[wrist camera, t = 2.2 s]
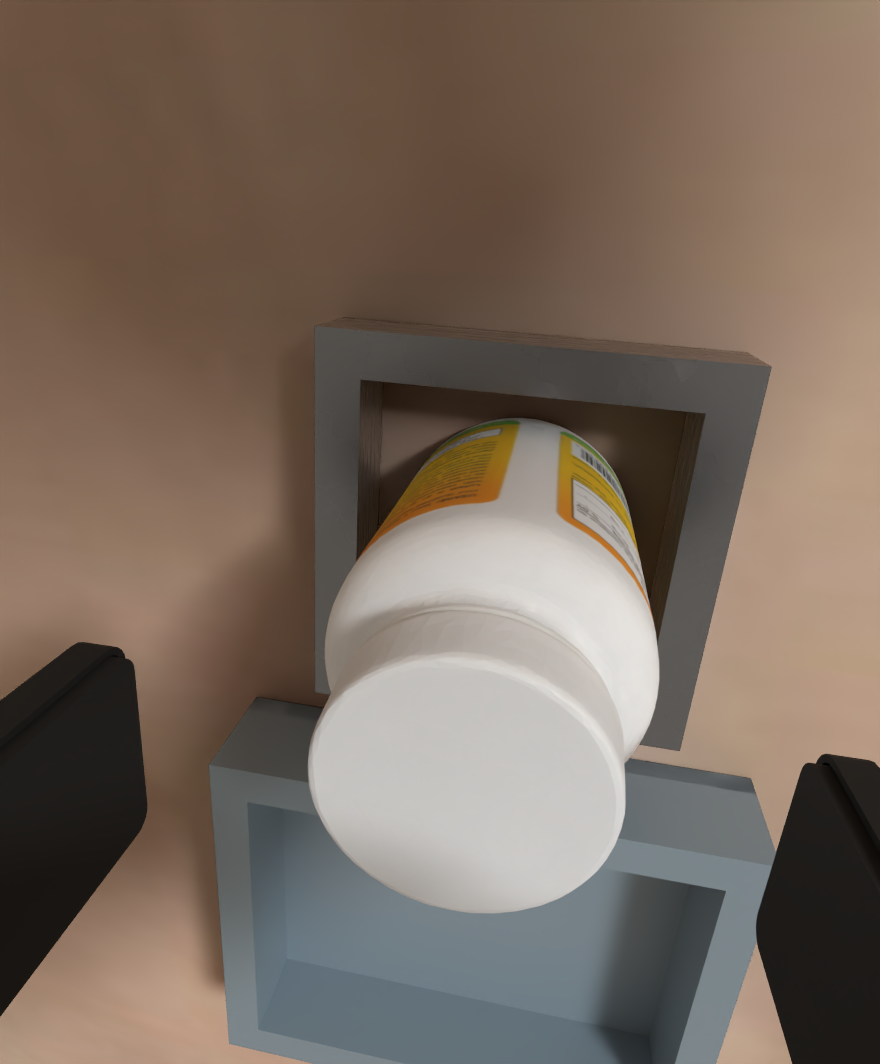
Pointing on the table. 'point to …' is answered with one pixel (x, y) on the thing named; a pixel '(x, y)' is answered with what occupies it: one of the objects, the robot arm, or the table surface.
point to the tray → (481, 928)
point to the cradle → (560, 373)
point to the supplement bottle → (489, 675)
